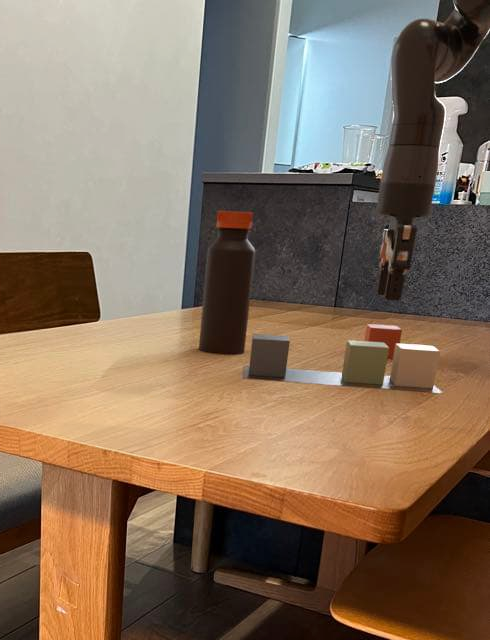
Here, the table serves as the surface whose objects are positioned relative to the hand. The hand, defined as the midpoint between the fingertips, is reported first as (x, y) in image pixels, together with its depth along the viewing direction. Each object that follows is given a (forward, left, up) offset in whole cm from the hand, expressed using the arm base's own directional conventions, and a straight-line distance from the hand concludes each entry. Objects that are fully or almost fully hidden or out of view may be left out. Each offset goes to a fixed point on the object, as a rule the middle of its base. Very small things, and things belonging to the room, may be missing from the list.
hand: (387, 297), depth 129 cm
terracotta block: (0, 0, -9) cm, 9 cm away
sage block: (+5, +26, -8) cm, 28 cm away
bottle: (+24, +9, -9) cm, 27 cm away
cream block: (-1, +26, -8) cm, 27 cm away
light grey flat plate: (+8, +26, -9) cm, 29 cm away
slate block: (+17, +26, -8) cm, 32 cm away
